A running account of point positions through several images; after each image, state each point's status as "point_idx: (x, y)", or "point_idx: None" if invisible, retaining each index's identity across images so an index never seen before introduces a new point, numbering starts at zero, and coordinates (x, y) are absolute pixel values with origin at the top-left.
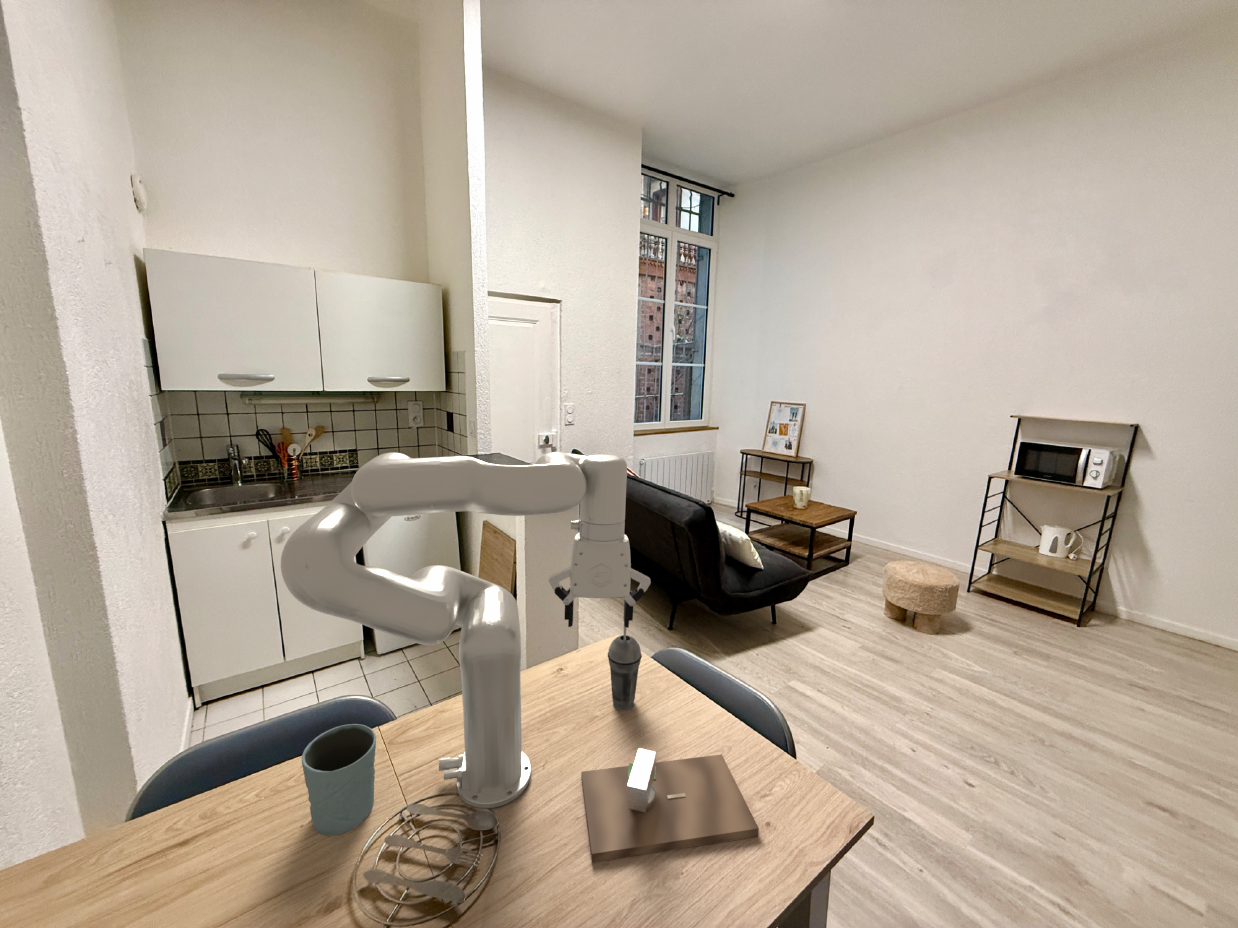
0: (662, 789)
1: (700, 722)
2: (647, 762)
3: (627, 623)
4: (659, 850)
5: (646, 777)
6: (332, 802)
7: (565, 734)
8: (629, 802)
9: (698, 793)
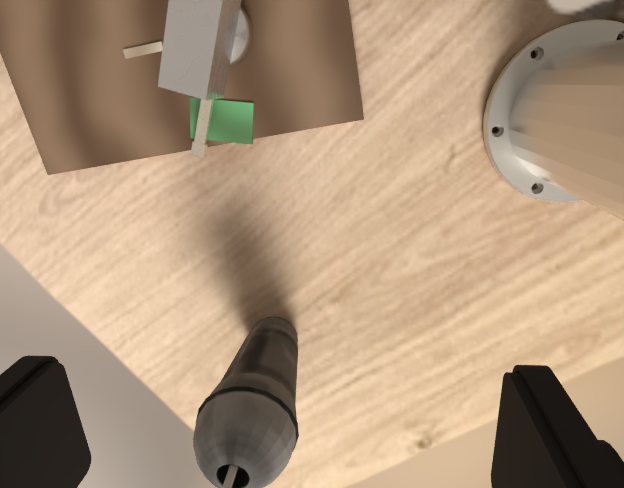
0: None
1: (104, 280)
2: (178, 43)
3: (11, 376)
4: None
5: None
6: None
7: (404, 247)
8: None
9: (96, 60)
